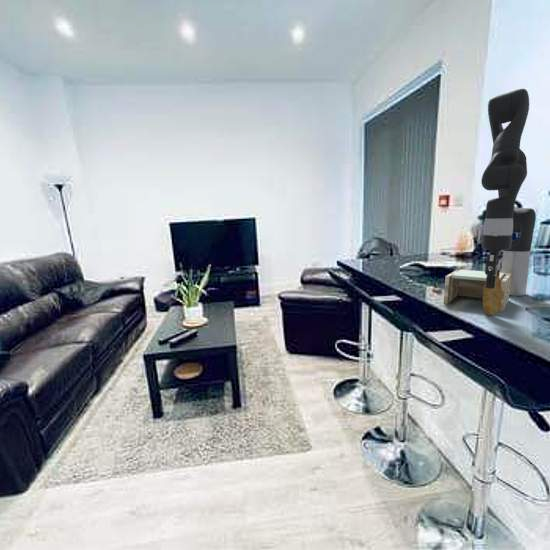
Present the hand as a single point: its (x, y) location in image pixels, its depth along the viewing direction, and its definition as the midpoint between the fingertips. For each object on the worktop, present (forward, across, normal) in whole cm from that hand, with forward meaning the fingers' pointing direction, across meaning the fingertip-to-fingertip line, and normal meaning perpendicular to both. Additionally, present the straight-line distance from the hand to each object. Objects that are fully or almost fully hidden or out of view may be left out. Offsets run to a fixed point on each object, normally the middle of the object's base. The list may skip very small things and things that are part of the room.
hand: (492, 285), depth 104 cm
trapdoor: (0, -15, -6) cm, 17 cm away
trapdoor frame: (+9, -15, -6) cm, 19 cm away
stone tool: (+10, 0, 0) cm, 10 cm away
